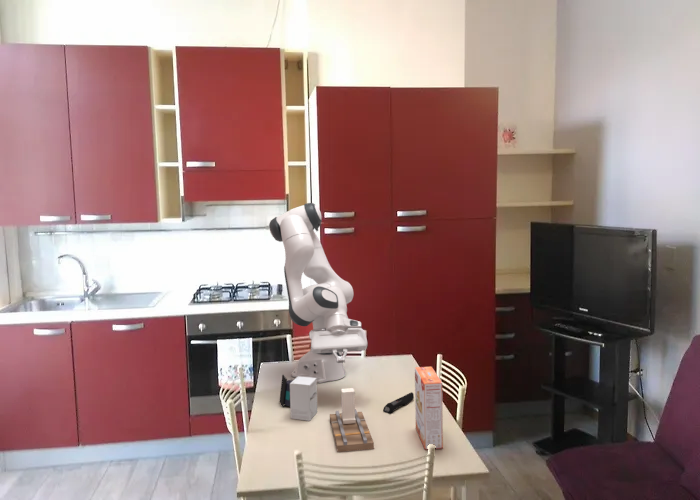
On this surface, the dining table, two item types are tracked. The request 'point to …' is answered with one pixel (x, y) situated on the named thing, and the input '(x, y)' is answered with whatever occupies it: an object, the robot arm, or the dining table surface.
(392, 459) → the dining table surface
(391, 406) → the electric trimmer
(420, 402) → the cracker box
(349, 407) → the switch tab
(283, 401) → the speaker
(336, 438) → the switch track
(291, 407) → the supplement box
